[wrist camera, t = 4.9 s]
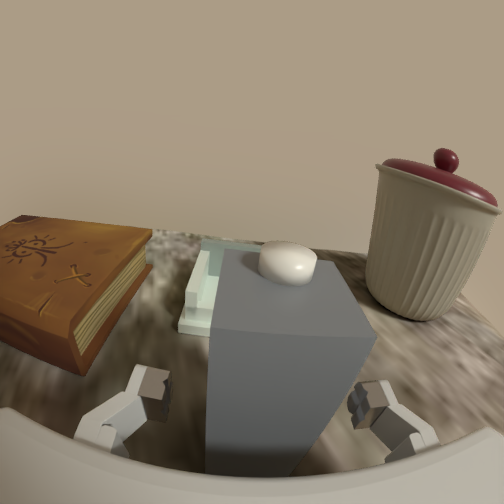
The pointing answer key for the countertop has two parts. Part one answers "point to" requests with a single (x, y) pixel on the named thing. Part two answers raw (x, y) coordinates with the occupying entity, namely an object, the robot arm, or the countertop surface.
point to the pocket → (206, 286)
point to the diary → (67, 285)
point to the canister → (425, 235)
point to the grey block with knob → (278, 358)
